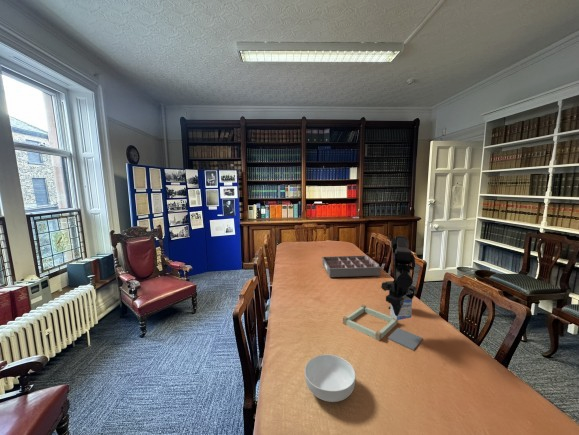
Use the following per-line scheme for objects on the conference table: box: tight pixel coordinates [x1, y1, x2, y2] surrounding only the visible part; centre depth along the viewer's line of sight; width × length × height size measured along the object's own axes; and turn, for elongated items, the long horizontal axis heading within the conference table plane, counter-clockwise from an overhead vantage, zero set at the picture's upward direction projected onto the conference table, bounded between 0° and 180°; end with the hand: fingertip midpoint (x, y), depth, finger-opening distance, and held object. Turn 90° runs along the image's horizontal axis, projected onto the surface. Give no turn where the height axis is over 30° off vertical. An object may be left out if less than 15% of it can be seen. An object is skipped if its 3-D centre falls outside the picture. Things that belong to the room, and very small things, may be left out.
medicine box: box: [389, 296, 413, 321], centre depth 106 cm, size 8×4×9 cm, turn 104°
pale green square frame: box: [342, 304, 399, 342], centre depth 119 cm, size 19×19×3 cm
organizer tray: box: [321, 253, 382, 278], centre depth 194 cm, size 32×40×10 cm
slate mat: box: [387, 327, 424, 351], centre depth 107 cm, size 11×11×1 cm
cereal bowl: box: [304, 353, 357, 403], centre depth 80 cm, size 17×17×7 cm
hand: (401, 312), depth 107 cm, fingers closed on medicine box, 9 cm apart
